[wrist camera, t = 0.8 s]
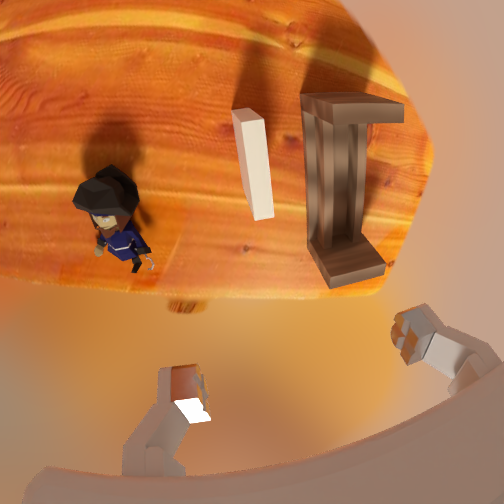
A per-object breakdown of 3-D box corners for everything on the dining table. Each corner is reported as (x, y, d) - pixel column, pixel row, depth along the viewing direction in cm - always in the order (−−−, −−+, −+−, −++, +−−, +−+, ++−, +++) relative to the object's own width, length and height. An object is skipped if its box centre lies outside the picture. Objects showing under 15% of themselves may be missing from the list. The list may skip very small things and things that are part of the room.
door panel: (231, 110, 29) (241, 122, 23) (248, 107, 30) (263, 119, 23) (243, 189, 35) (254, 220, 29) (259, 186, 36) (274, 217, 29)
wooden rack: (299, 93, 29) (332, 104, 22) (360, 91, 30) (404, 104, 23) (307, 247, 42) (329, 289, 35) (355, 237, 43) (383, 274, 36)
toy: (97, 270, 37) (53, 188, 25) (116, 237, 41) (85, 154, 29) (153, 284, 36) (120, 195, 24) (170, 247, 40) (149, 156, 28)
